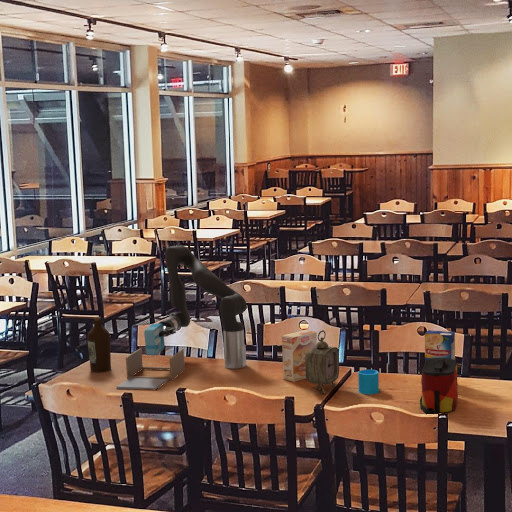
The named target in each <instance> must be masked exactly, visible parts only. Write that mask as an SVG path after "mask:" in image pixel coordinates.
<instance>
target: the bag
mask: <svg viewBox="0 0 512 512" xmlns="http://www.w3.org/2000/svg"><path fill="white" fill-rule="evenodd" d="M457 364H458V363H457V360H456V359H455V360H454V359H451V358H444V357H443V358H430V359H427V360H426V361H425V360H424V364H423V368H422V369H421V377H420V381H421V383H420V384H421V396H420V398H419V399H420V400H419V406H420V407H419V408H420V410H421V411H422V413H424V414H425V415H427V414H433V415H435V414H438V413H441V414H449V413H453V412H454V411H456V409H457V405H458V396H459V394H458V393H459V392H458V385H459V384H458V365H457Z"/></svg>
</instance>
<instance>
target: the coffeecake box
mask: <svg viewBox="0 0 512 512" xmlns="http://www.w3.org/2000/svg"><path fill="white" fill-rule="evenodd" d="M281 343H282V344H281V345H282V346H281V347H282V376H283V377H282V378H283V380H285V381H286V380H287V381H289V382H297V381H301V380H305V379H306V371H305V356H306V353H307V352H308V351H309V350H311V349H313V348H315V347H316V345H317V343H318V334H317V331H313V330H308V329H305V330H302V331H301V330H299V331H297V332H292V333H288V334H287V333H286V334H283V335H281Z"/></svg>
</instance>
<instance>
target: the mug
mask: <svg viewBox="0 0 512 512" xmlns="http://www.w3.org/2000/svg"><path fill="white" fill-rule="evenodd" d="M357 373H358V376H357V377H358V393H359V394H361V395H362V394H363V395H376V394H379V393H380V388H379V387H380V384H379V383H380V379H379V371H378V370H376V369H361V370H359V371H357Z"/></svg>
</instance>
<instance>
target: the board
mask: <svg viewBox="0 0 512 512" xmlns="http://www.w3.org/2000/svg"><path fill="white" fill-rule="evenodd" d="M166 381H167V382H168V380H167V379H148V378H128V379H127V378H126V380H124V381H123V382H121V383H120V384H118V385H116V390H135V389H157V388H158V389H159V387H160V386H161V385H162V384H163V385H165V384H166V383H167V382H166ZM165 382H166V383H165ZM164 383H165V384H164ZM163 385H162V386H163ZM162 386H161V387H162ZM161 387H160V388H161ZM158 389H157V390H158Z"/></svg>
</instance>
